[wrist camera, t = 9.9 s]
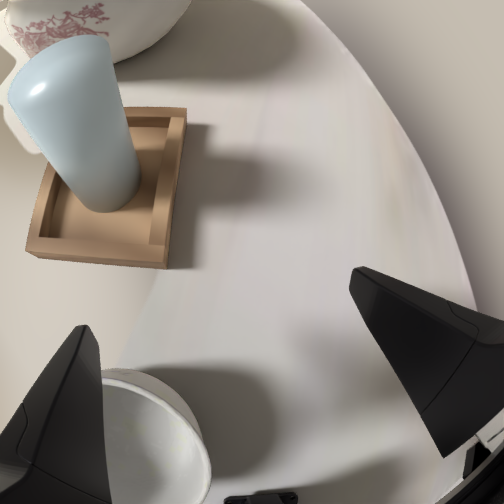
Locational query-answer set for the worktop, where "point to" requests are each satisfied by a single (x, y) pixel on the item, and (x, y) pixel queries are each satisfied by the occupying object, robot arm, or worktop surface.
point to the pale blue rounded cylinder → (79, 120)
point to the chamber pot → (92, 22)
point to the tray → (127, 217)
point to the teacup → (151, 442)
